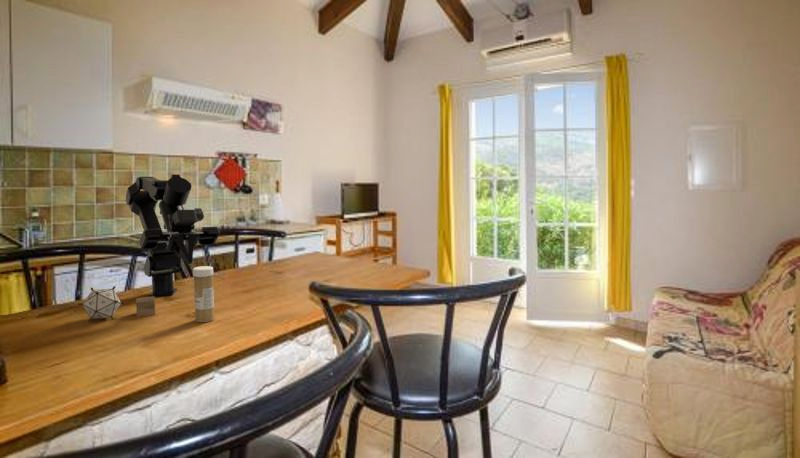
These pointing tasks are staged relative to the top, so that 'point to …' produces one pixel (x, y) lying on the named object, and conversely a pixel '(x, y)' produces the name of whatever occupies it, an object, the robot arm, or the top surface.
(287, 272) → the top surface
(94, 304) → the game die
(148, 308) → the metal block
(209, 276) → the sprinkles bottle
